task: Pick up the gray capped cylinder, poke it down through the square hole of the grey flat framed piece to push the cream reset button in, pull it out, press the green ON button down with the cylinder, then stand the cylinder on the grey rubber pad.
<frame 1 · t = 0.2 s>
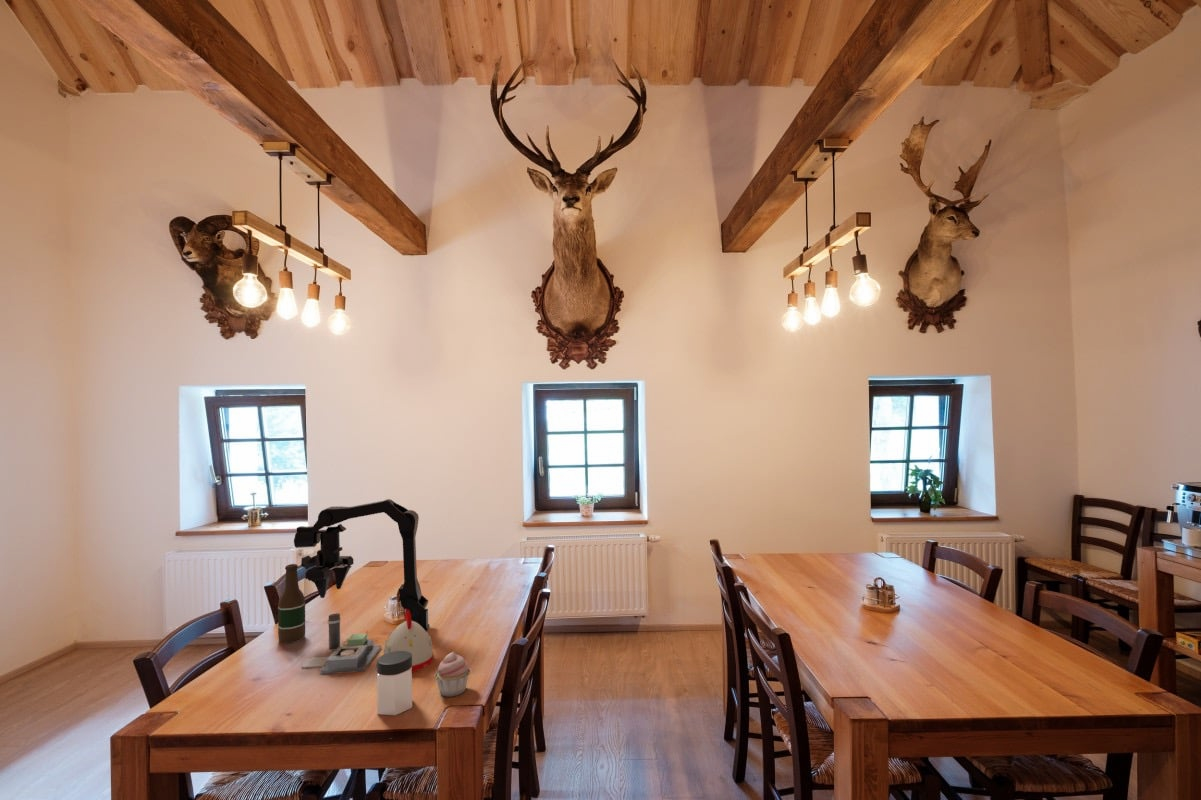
hand: (330, 593, 183), 14 cm above the table, fingers open, 9 cm apart
jar: (395, 707, 136), on the table
on button: (357, 640, 168), point 4 cm above the table, slide at 0.0 cm
pad: (316, 662, 162), on the table
reset button: (347, 654, 160), point 3 cm above the table, slide at 0.0 cm
gray capped cylinder: (334, 647, 173), on the table
grey flat framed piece: (352, 660, 163), on the table
kitchen timer: (408, 663, 161), on the table
beer bottle: (291, 639, 182), on the table
cupcake: (453, 692, 143), on the table
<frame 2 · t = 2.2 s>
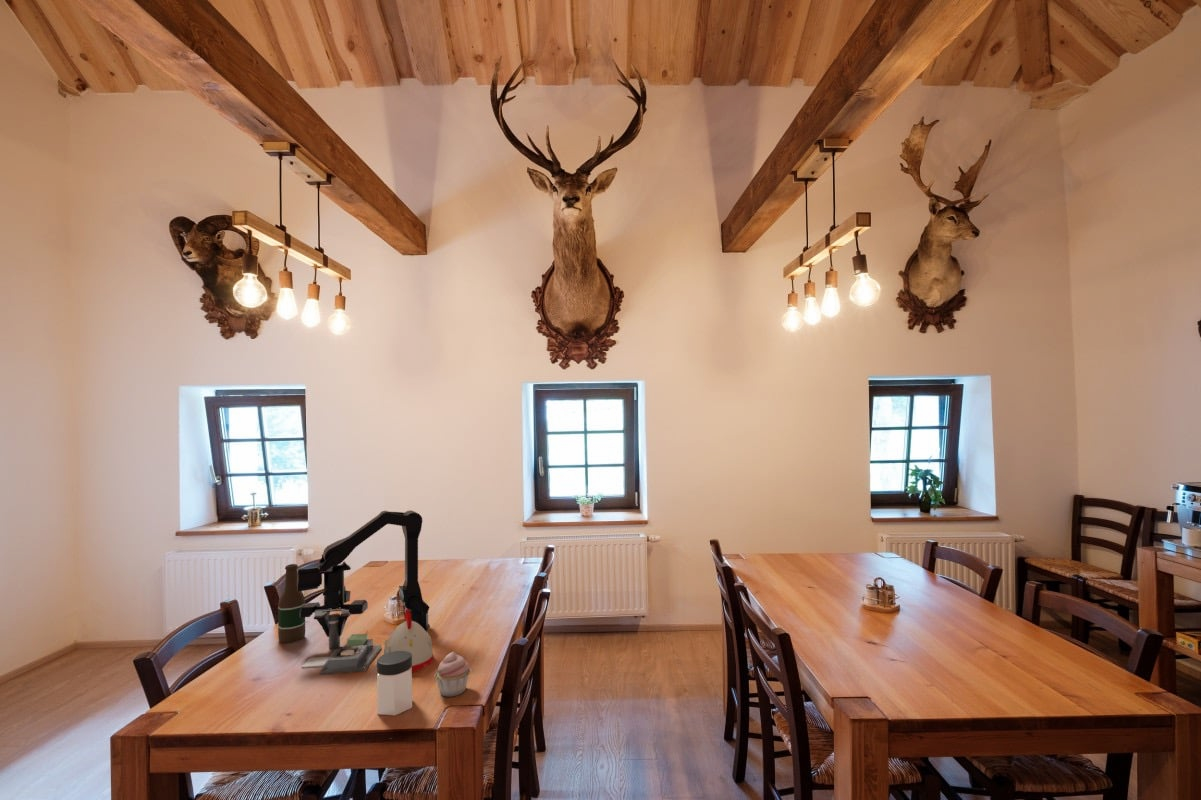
hand: (334, 636, 174), 4 cm above the table, fingers closed on gray capped cylinder, 3 cm apart
gray capped cylinder: (334, 647, 173), on the table, touching gripper
everything else where it was.
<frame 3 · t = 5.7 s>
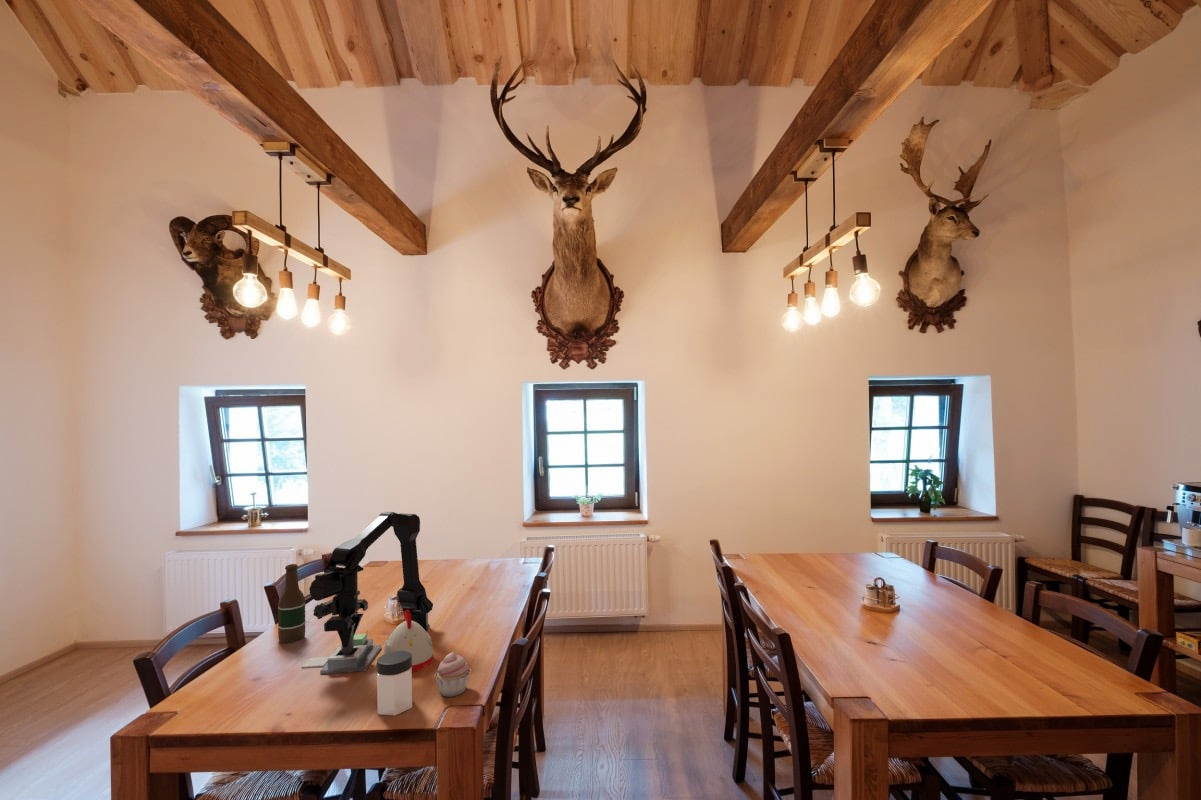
hand: (347, 644, 160), 6 cm above the table, fingers closed on gray capped cylinder, 3 cm apart
reset button: (347, 659, 159), point 2 cm above the table, slide at 1.4 cm, touching gray capped cylinder
gray capped cylinder: (347, 657, 160), point 3 cm above the table, touching gripper, reset button
everything else where it was.
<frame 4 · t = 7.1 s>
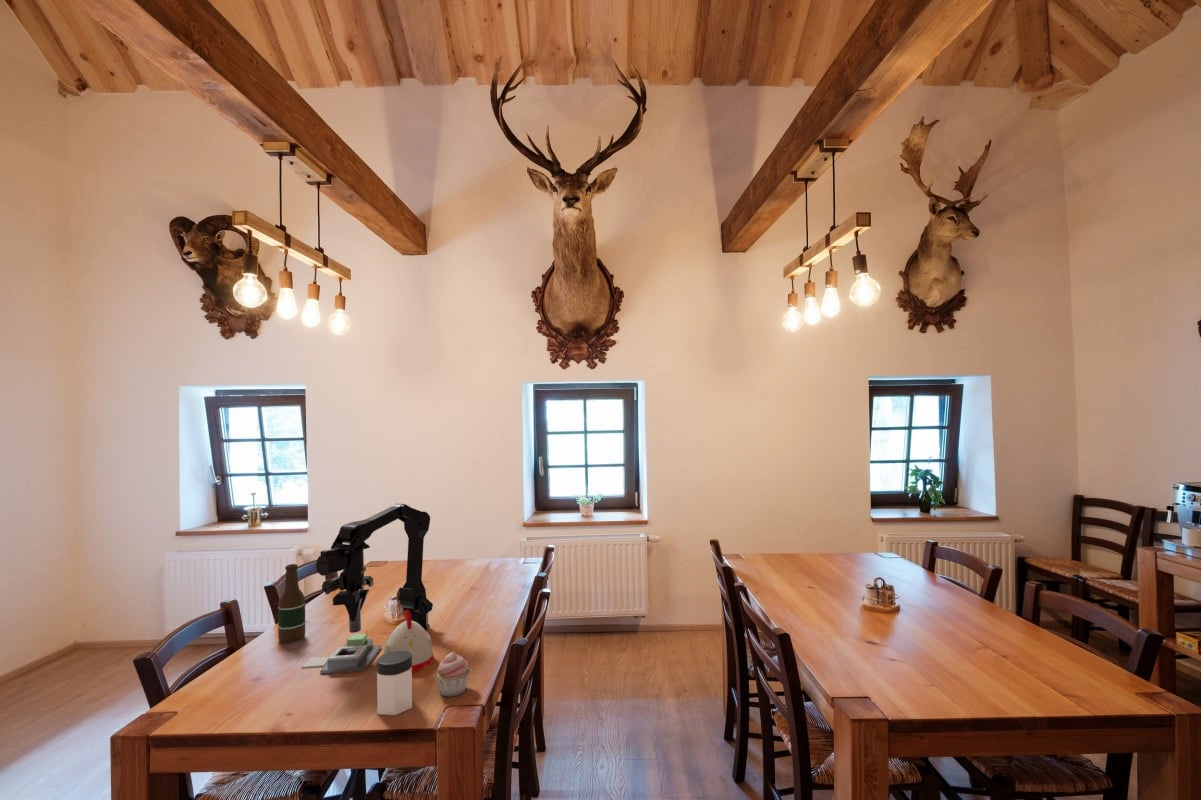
hand: (354, 618, 166), 12 cm above the table, fingers closed on gray capped cylinder, 3 cm apart
reset button: (347, 659, 159), point 2 cm above the table, slide at 1.4 cm
gray capped cylinder: (355, 630, 166), point 8 cm above the table, touching gripper
everything else where it was.
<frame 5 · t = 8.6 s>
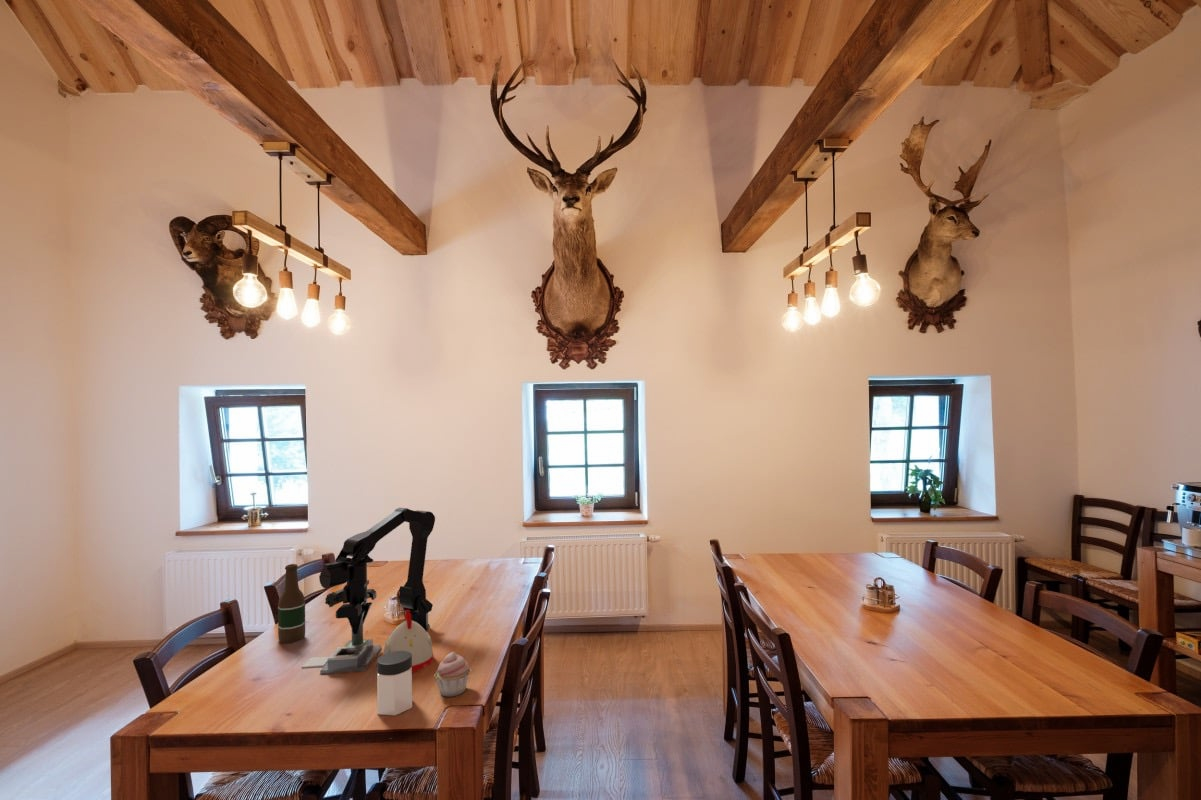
hand: (357, 631, 168), 7 cm above the table, fingers closed on gray capped cylinder, 3 cm apart
on button: (357, 646, 168), point 2 cm above the table, slide at 2.0 cm, touching gray capped cylinder
gray capped cylinder: (357, 643, 168), point 3 cm above the table, touching gripper, on button
everything else where it was.
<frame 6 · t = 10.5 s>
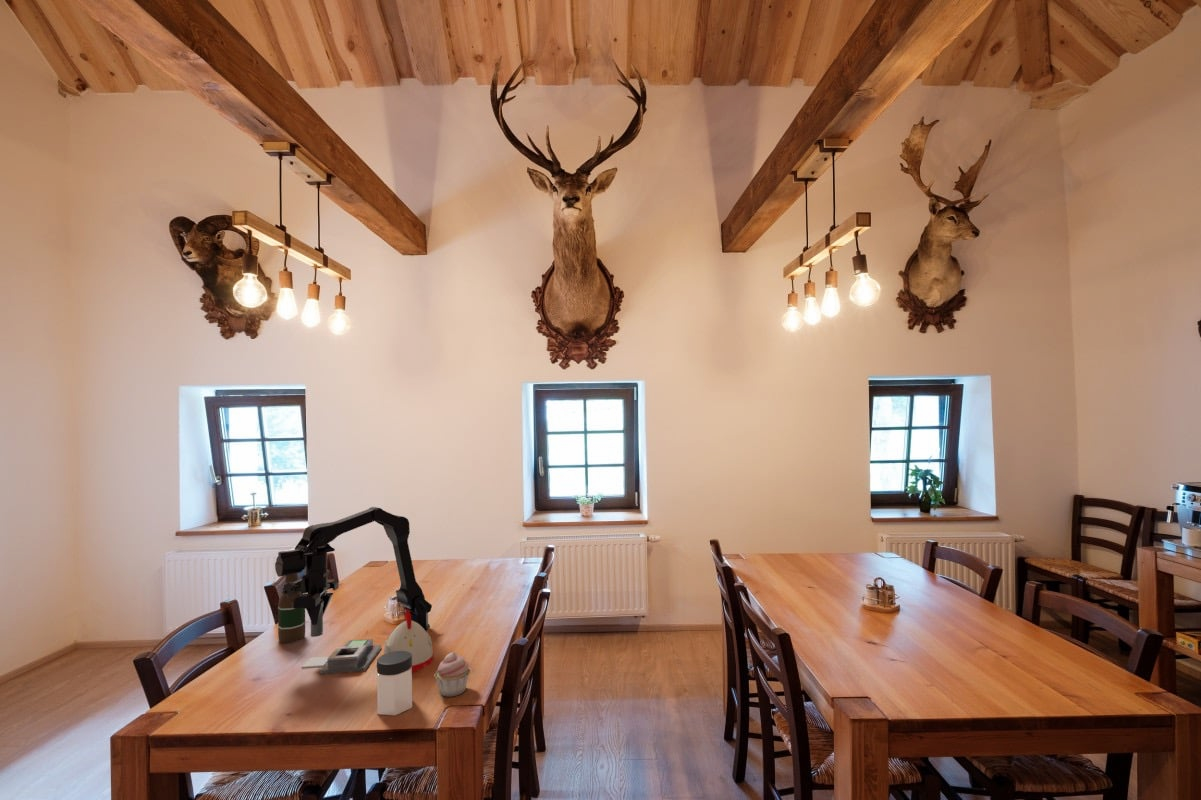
hand: (316, 622, 163), 12 cm above the table, fingers closed on gray capped cylinder, 3 cm apart
on button: (357, 646, 168), point 2 cm above the table, slide at 2.0 cm
gray capped cylinder: (316, 634, 163), point 8 cm above the table, touching gripper
everything else where it was.
when the fingers open (4 cm above the table, at t = 12.0 s): gray capped cylinder stays where it is, resting on pad.
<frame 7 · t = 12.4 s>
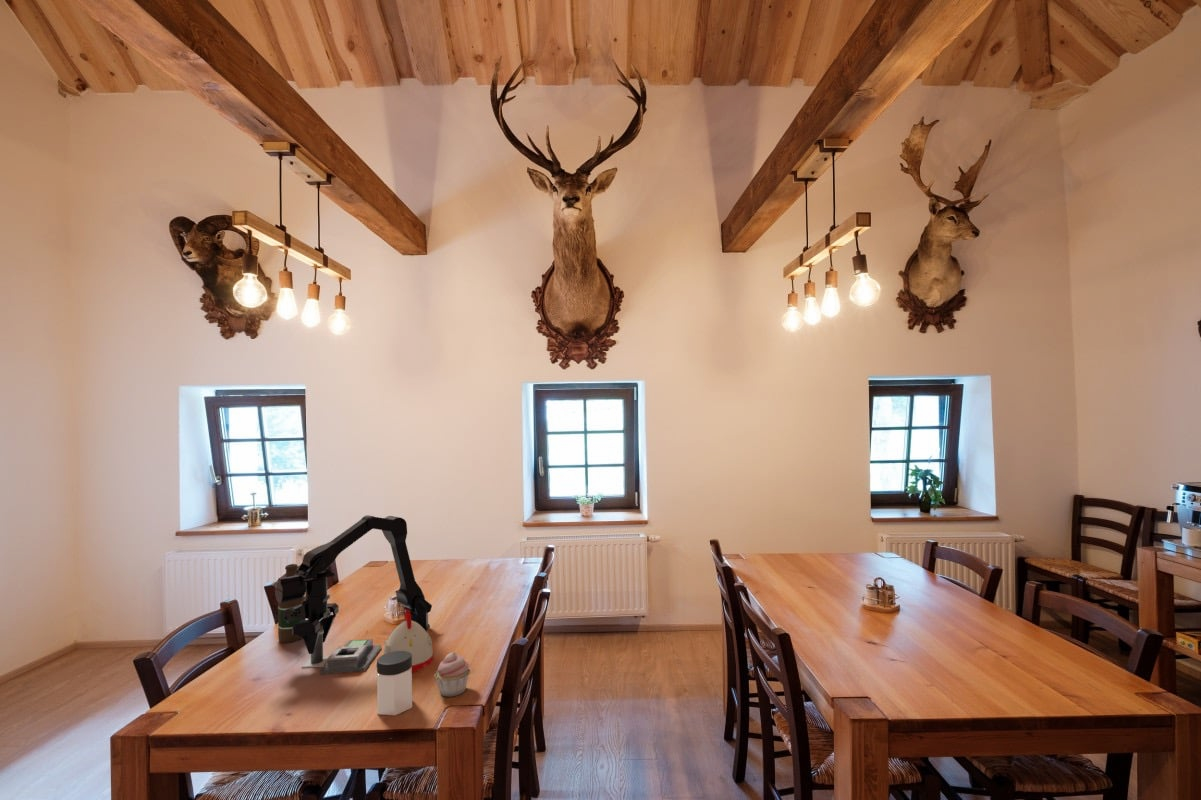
hand: (316, 648, 163), 4 cm above the table, fingers open, 8 cm apart
gray capped cylinder: (316, 661, 162), resting on pad
everything else where it was.
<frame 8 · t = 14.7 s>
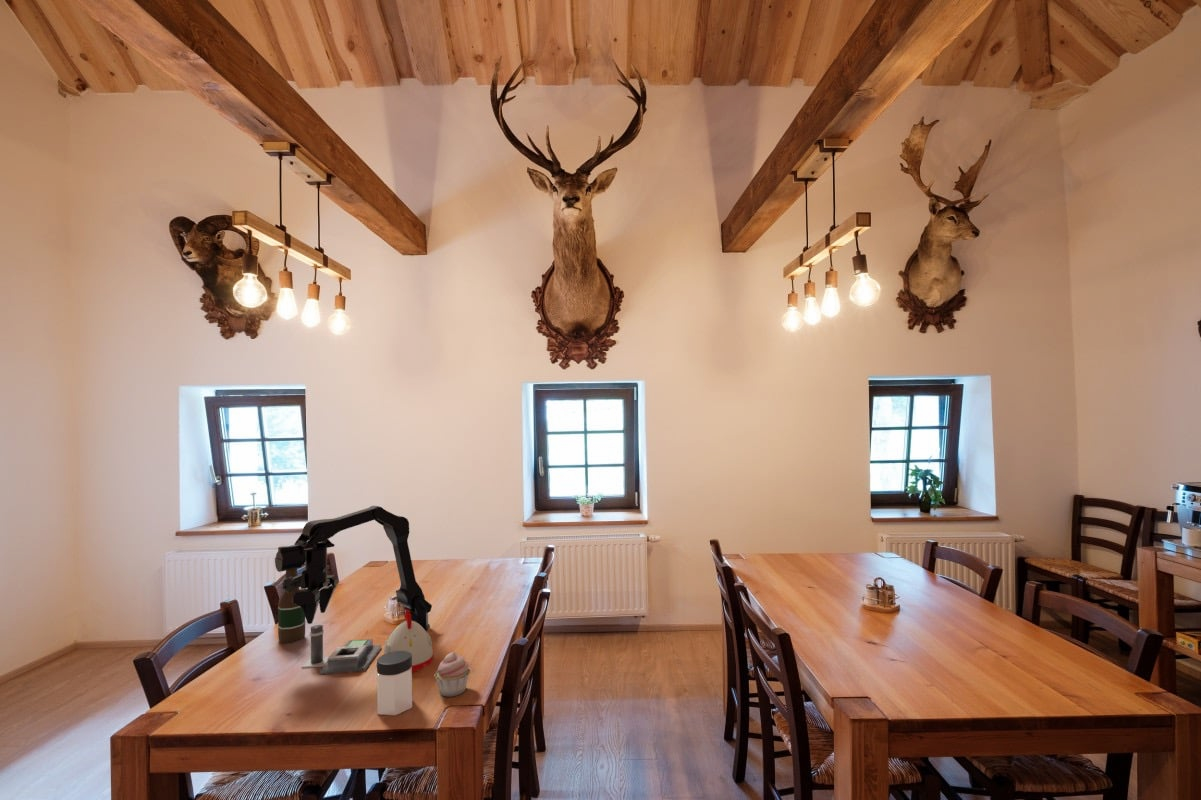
hand: (316, 618, 163), 13 cm above the table, fingers open, 9 cm apart
nothing on the table moved.
at the end: reset button slide at 1.4 cm; on button slide at 2.0 cm; gray capped cylinder tilted 0° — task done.
